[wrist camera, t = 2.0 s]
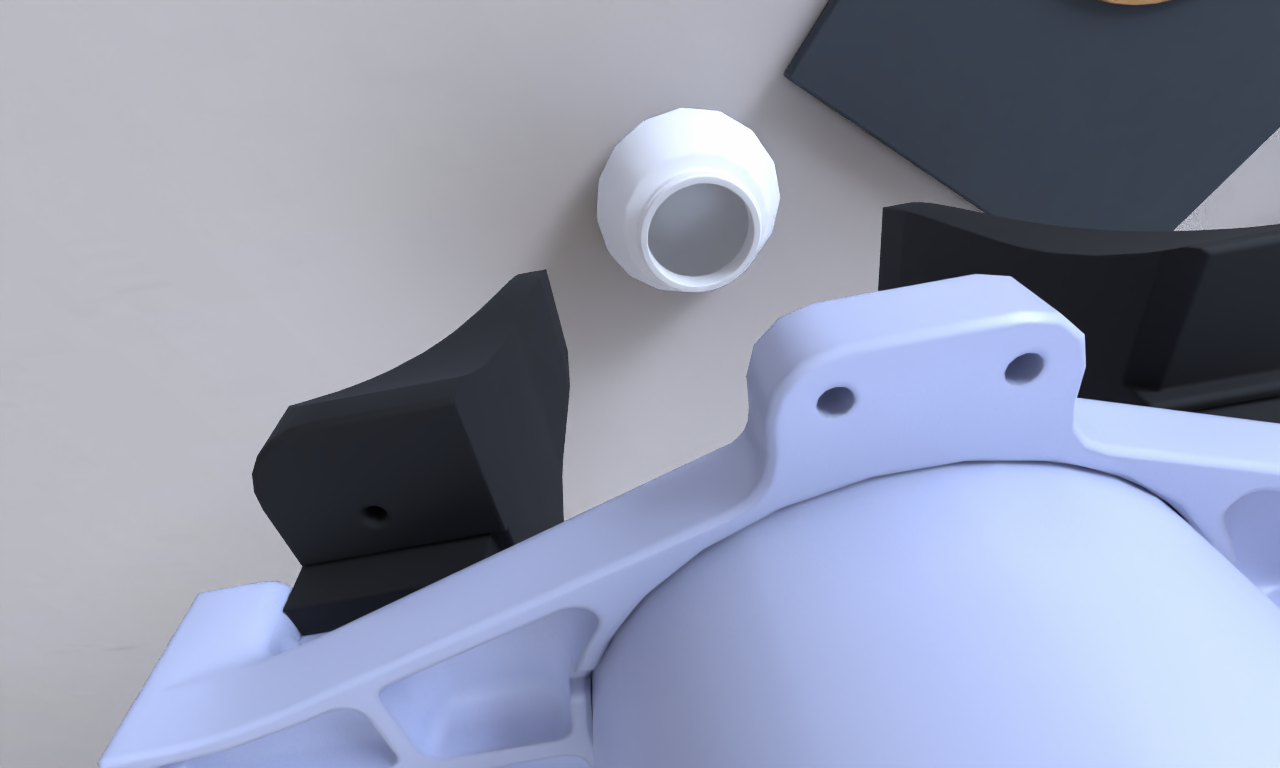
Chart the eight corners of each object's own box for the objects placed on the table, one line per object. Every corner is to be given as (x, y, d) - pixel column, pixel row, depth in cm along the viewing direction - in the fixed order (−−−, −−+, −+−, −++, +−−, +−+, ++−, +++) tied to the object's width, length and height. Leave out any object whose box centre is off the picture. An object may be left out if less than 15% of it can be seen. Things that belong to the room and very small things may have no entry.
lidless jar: (806, 160, 18) (650, 69, 16) (841, 193, 15) (663, 89, 14) (712, 304, 20) (568, 237, 19) (730, 353, 18) (566, 279, 16)
